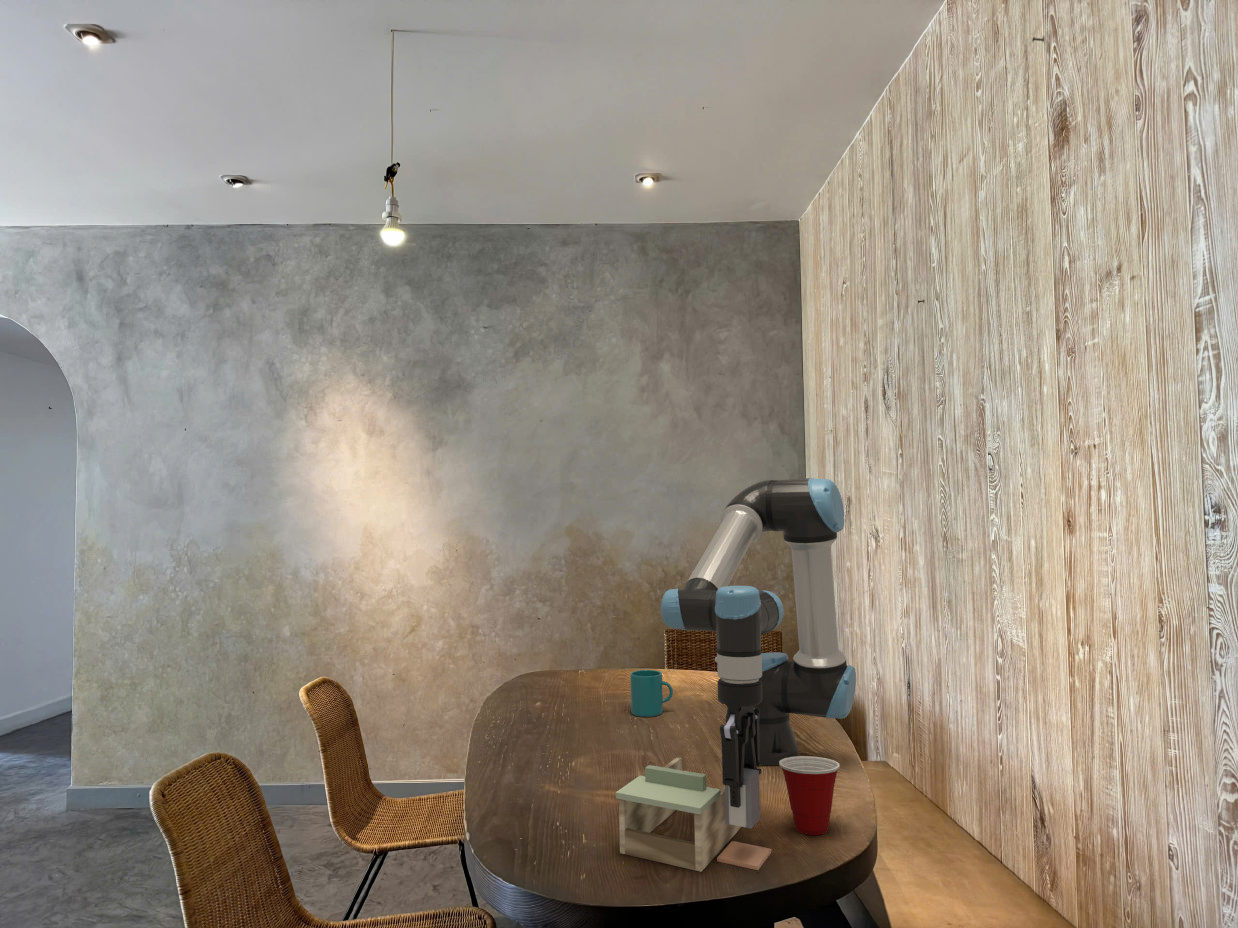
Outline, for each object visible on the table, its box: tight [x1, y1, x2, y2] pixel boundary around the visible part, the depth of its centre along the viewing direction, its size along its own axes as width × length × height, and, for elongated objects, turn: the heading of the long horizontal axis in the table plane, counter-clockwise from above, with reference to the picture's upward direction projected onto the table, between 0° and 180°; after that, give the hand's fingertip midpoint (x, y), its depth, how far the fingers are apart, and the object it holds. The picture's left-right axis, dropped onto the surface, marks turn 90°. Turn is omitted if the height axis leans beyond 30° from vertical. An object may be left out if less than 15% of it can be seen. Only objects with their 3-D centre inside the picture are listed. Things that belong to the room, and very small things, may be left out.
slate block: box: [724, 768, 761, 830], centre depth 129 cm, size 4×4×8 cm
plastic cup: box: [778, 755, 841, 836], centre depth 140 cm, size 11×11×12 cm
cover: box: [615, 764, 722, 814], centre depth 132 cm, size 9×16×3 cm, turn 61°
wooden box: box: [618, 756, 742, 872], centre depth 138 cm, size 24×15×9 cm, turn 151°
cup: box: [629, 669, 674, 718], centre depth 218 cm, size 9×12×11 cm
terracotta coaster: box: [716, 840, 772, 871], centre depth 129 cm, size 7×7×1 cm
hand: (743, 818), depth 129 cm, fingers closed on slate block, 4 cm apart
